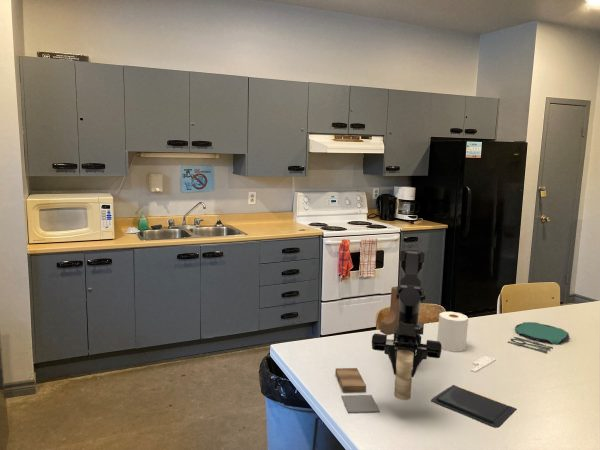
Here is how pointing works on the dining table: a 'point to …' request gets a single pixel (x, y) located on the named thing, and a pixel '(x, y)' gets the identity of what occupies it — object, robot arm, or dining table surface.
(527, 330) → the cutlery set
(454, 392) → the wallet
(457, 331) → the toilet paper
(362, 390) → the walnut slab
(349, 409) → the support pad
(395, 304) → the wooden scoop
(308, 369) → the dining table surface
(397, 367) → the birch roller
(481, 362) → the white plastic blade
